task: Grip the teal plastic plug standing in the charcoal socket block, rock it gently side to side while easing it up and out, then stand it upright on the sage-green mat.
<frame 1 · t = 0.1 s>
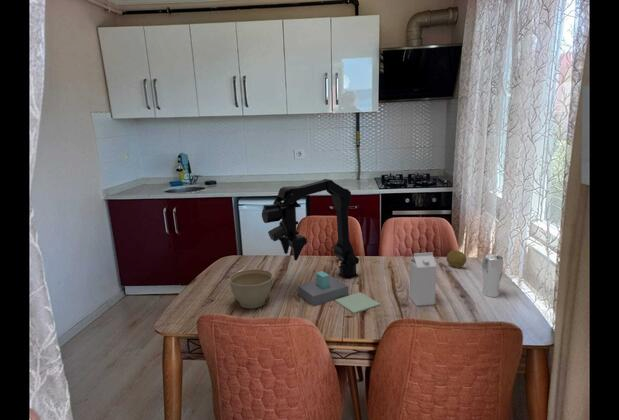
hand: (290, 256, 149), 15 cm above the table, tool pointing down, fingers open, 9 cm apart
olive green melon: (455, 267, 170), on the table
socket block: (323, 295, 147), on the table
milk carton: (421, 301, 138), on the table
silver can: (490, 294, 142), on the table
mat: (357, 303, 139), on the table
teacup and saucer: (239, 278, 168), on the table
plug: (322, 284, 146), in the socket block
planter bowl: (253, 303, 142), on the table
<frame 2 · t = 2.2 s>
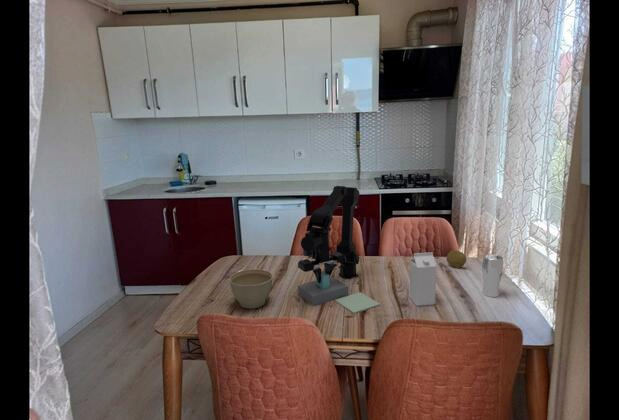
hand: (322, 282, 145), 6 cm above the table, tool pointing down, fingers closed on plug, 3 cm apart
plug: (322, 284, 146), in the socket block, touching gripper
everything else where it was.
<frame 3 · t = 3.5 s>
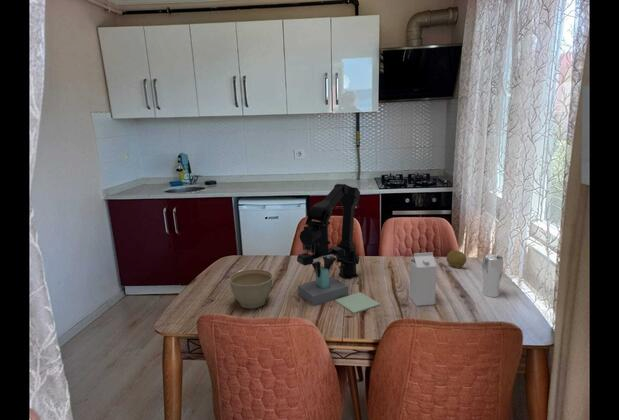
hand: (322, 276, 145), 8 cm above the table, tool pointing down, fingers closed on plug, 3 cm apart
plug: (322, 279, 145), point 7 cm above the table, touching gripper, socket block
everything else where it was.
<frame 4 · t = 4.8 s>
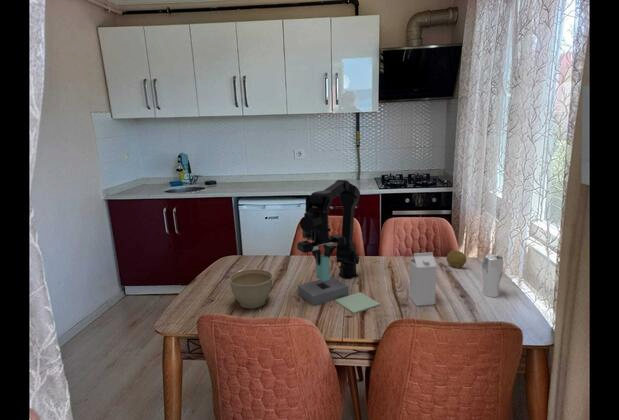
hand: (322, 264, 144), 13 cm above the table, tool pointing down, fingers closed on plug, 3 cm apart
plug: (322, 267, 144), point 12 cm above the table, touching gripper
everything else where it was.
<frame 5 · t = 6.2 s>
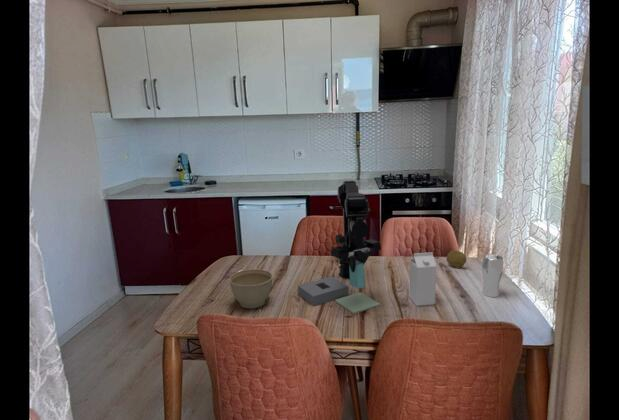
hand: (356, 270, 136), 13 cm above the table, tool pointing down, fingers closed on plug, 3 cm apart
plug: (356, 274, 136), point 12 cm above the table, touching gripper
everything else where it was.
when the fingers open (8 cm above the table, at t = 7.3 s): plug drops 1 cm, resting on mat.
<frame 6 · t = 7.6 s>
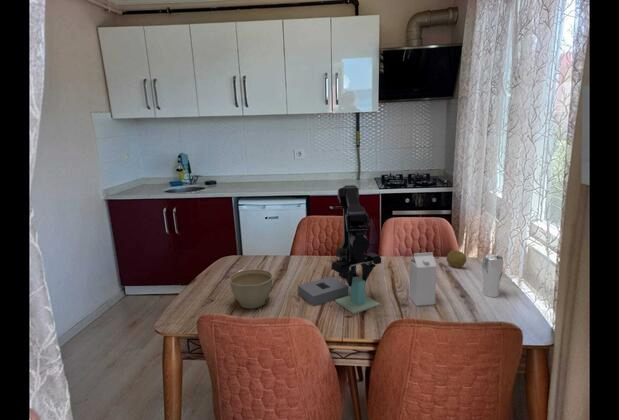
hand: (357, 284, 137), 8 cm above the table, tool pointing down, fingers open, 6 cm apart
plug: (357, 290, 137), on the mat, point 5 cm above the table
everything else where it was.
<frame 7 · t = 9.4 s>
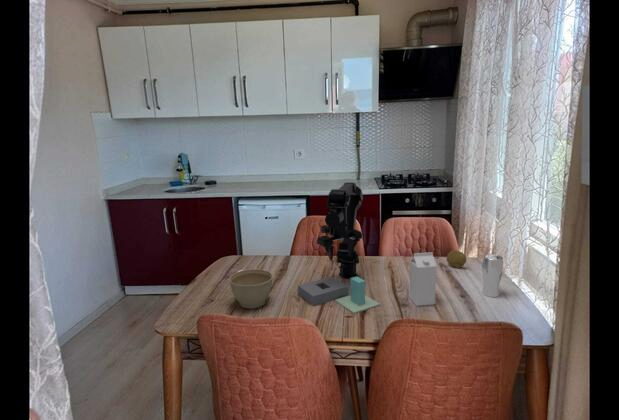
hand: (340, 257, 150), 13 cm above the table, tool pointing down, fingers open, 9 cm apart
nothing on the table moved.
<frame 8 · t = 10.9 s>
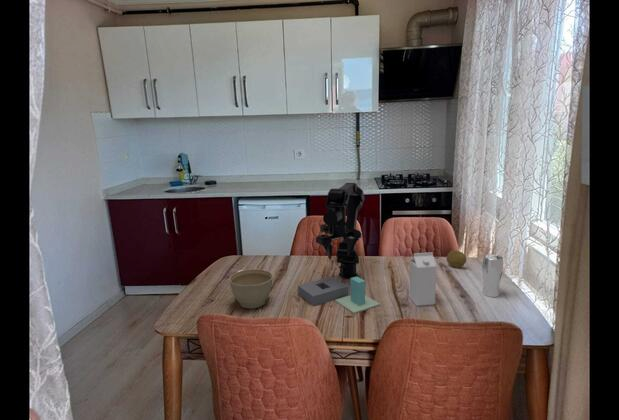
hand: (339, 257, 151), 13 cm above the table, tool pointing down, fingers open, 9 cm apart
nothing on the table moved.
at the end: plug inside the target area on the mat (0.3 cm from its centre), point 5.1 cm above the mat's base; plug tilted 0°; plug touching mat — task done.
